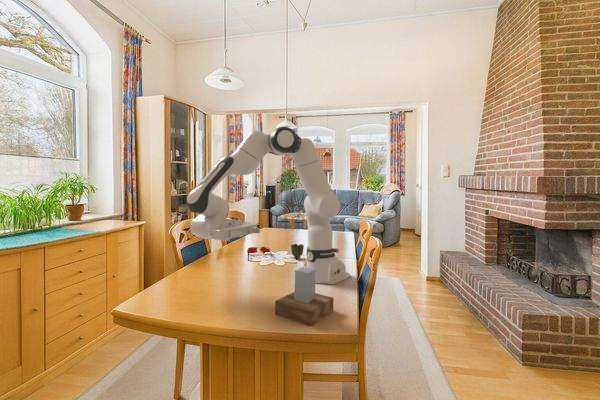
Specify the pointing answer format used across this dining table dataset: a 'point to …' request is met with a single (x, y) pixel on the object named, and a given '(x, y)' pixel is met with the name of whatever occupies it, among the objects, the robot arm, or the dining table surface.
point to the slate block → (305, 284)
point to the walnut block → (304, 308)
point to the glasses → (254, 249)
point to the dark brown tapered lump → (297, 250)
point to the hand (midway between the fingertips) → (251, 232)
